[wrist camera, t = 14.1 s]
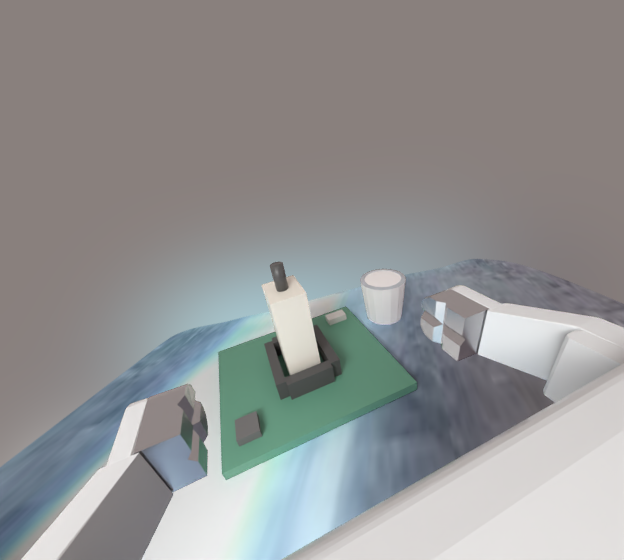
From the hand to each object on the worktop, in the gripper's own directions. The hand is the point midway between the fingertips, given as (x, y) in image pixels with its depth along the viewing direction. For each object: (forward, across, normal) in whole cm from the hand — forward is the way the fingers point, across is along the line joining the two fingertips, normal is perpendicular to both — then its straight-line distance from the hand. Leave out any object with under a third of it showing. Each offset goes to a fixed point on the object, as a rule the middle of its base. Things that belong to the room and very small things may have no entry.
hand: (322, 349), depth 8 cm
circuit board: (+19, -2, +21) cm, 28 cm away
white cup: (+24, -18, +21) cm, 36 cm away
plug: (+19, -2, +20) cm, 27 cm away
